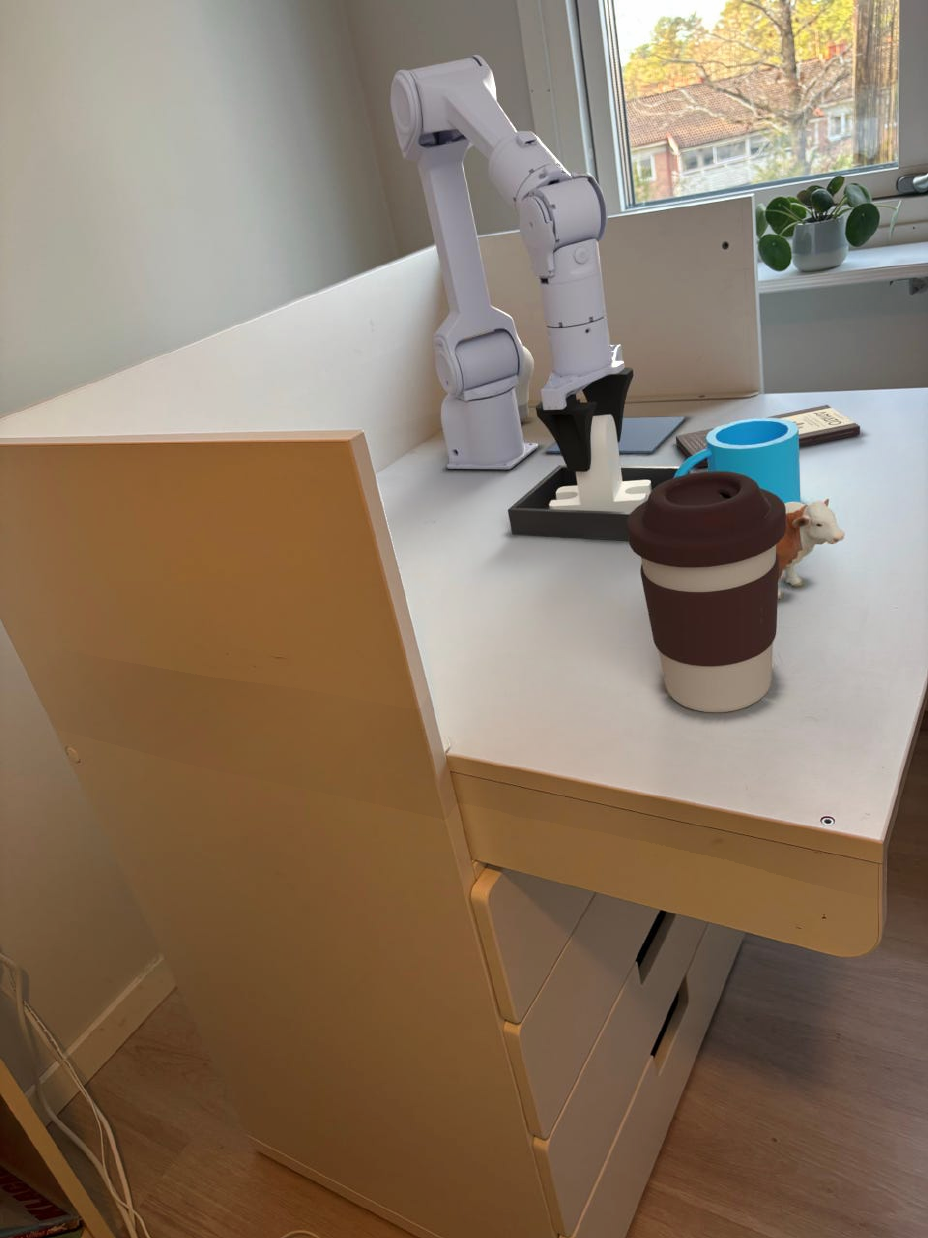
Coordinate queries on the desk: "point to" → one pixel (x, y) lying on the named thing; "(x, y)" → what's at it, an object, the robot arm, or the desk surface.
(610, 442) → the cable organizer
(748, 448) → the mug
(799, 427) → the chocolate bar
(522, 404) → the lightbulb
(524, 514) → the tray
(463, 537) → the desk surface
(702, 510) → the coffee cup
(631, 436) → the cloth
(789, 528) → the bull figurine
